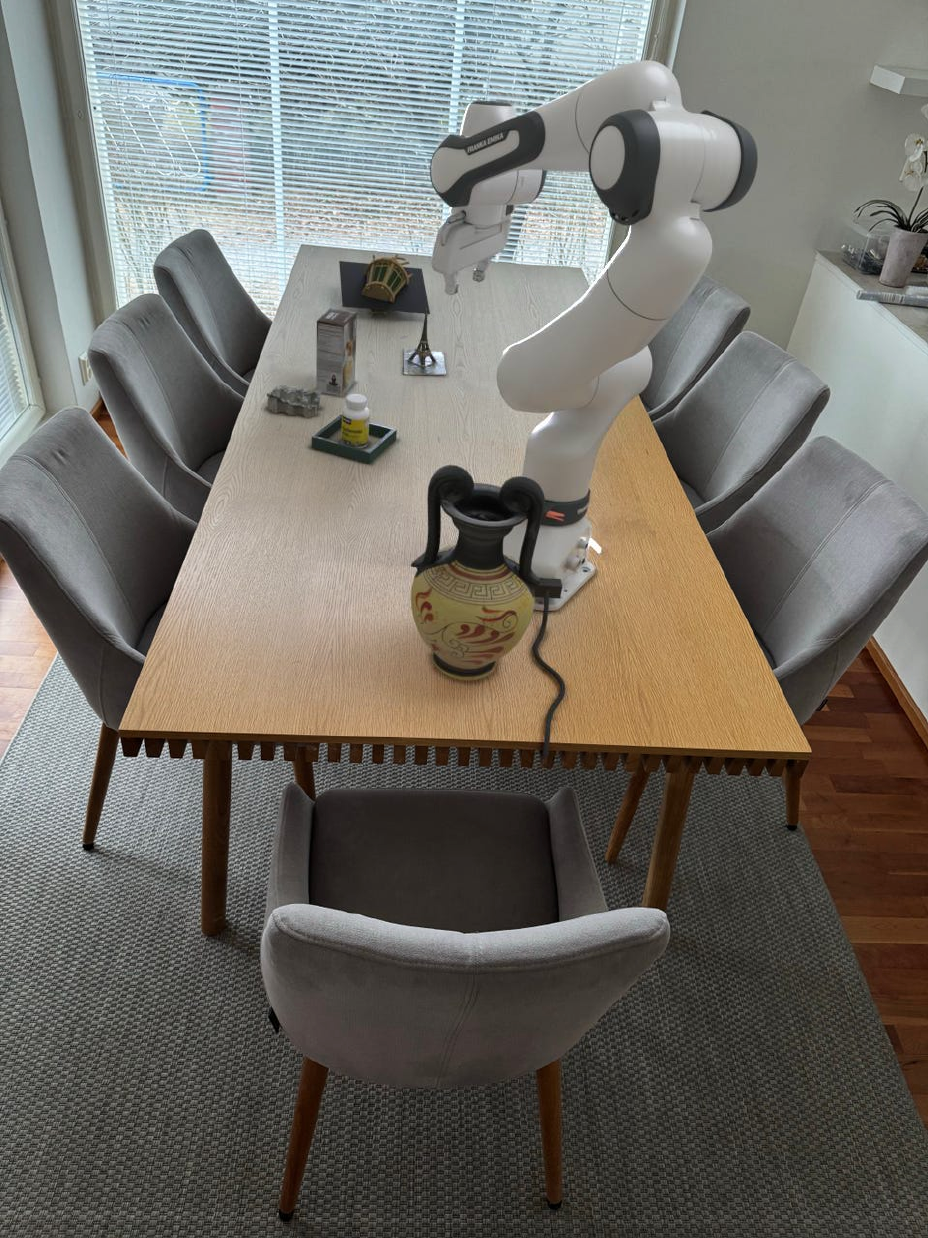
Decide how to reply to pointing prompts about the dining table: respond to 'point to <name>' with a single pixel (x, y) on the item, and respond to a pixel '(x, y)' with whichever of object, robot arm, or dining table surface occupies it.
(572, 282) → the dining table surface
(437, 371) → the eiffel tower figurine
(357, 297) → the lantern
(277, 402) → the egg carton
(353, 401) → the supplement bottle
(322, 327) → the coffee box
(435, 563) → the amphora
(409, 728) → the dining table surface
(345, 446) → the square frame
